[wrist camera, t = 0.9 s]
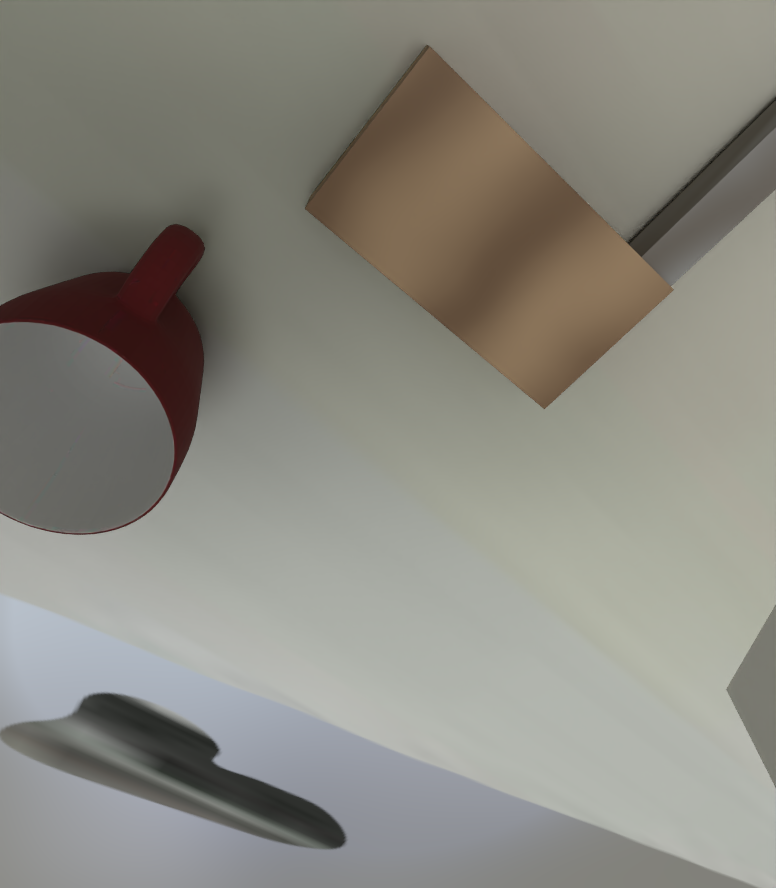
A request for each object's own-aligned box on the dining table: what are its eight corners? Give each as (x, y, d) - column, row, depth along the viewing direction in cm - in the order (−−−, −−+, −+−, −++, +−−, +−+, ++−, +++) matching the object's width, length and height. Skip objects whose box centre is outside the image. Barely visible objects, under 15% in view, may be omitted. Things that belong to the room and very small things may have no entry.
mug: (101, 139, 28) (-28, 190, 20) (289, 240, 30) (247, 326, 21) (29, 358, 33) (-100, 477, 24) (196, 433, 35) (131, 568, 26)
